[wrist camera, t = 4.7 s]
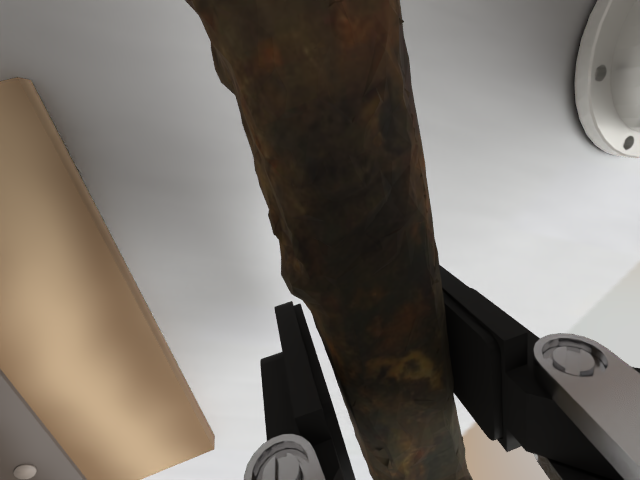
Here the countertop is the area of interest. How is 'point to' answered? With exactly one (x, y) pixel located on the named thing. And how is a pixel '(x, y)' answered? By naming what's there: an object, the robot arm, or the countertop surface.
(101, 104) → the countertop surface
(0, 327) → the plywood panel
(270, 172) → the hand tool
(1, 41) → the countertop surface
